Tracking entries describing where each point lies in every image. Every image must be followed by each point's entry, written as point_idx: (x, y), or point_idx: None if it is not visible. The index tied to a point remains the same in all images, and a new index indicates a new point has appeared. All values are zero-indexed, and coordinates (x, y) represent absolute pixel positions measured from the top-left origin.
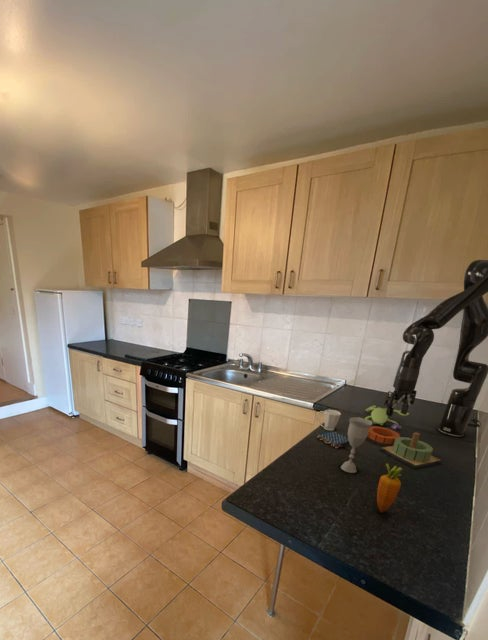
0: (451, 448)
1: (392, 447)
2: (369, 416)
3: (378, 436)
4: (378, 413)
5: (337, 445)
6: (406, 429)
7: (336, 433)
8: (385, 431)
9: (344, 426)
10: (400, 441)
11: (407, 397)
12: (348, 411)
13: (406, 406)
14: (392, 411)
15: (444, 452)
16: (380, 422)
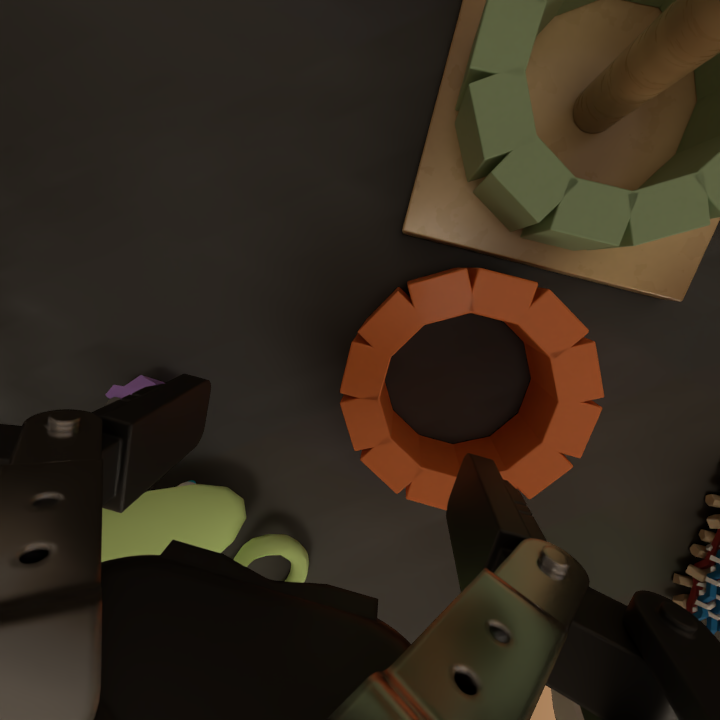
0: (83, 10)
1: (596, 252)
2: None
3: (600, 384)
4: None
5: None
6: (68, 363)
7: (710, 596)
8: (383, 405)
9: (436, 612)
10: (696, 177)
11: (101, 627)
12: None
13: (132, 438)
14: (501, 494)
15: (217, 4)
16: (228, 502)
